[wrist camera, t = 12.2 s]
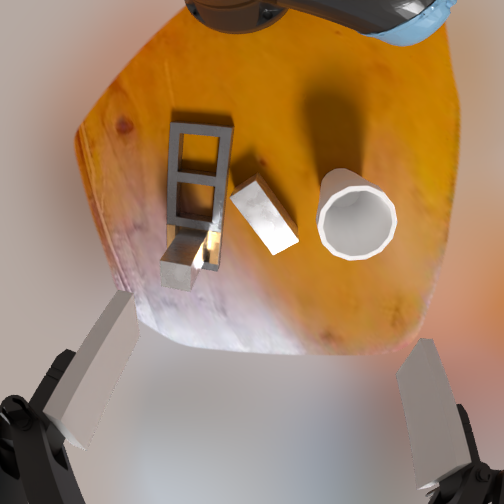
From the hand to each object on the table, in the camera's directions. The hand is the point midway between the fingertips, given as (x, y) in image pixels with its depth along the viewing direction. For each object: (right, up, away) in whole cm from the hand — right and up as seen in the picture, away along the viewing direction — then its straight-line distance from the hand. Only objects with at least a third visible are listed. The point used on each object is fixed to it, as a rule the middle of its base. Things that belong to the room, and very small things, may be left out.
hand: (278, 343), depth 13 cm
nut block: (+1, +11, +34) cm, 36 cm away
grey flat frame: (-10, +13, +34) cm, 38 cm away
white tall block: (-11, +6, +38) cm, 40 cm away
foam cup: (+12, +14, +31) cm, 36 cm away
